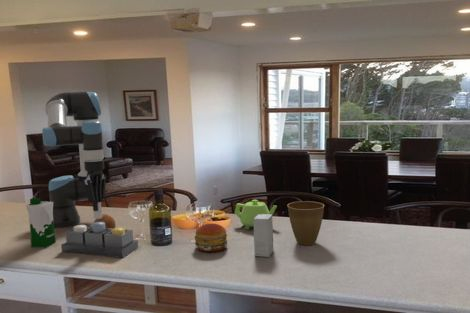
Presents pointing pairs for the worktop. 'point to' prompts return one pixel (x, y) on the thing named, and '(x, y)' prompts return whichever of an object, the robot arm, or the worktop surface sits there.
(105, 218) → the onion
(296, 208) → the plant pot
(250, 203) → the teapot
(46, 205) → the milk carton
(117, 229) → the mustard button
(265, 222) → the skincare box
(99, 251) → the grey frame
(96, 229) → the slate button
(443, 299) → the worktop surface
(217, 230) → the burger
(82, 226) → the cream button
